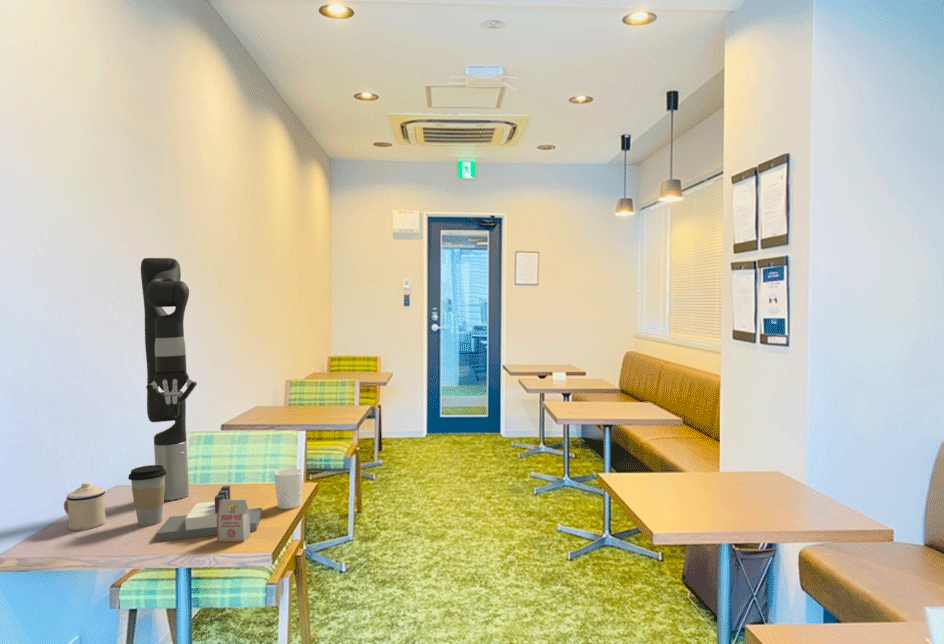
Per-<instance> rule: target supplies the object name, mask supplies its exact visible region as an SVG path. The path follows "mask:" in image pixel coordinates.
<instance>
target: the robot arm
mask: <svg viewBox="0 0 944 644" xmlns="http://www.w3.org/2000/svg"><path fill="white" fill-rule="evenodd" d="M181 275H182V274H181V266H180V263H179V261H178V260H177V259H176V258H170V257H159V258H158V257H146V258H143V259H141V262H140V277H141V280H140V281H141V288H142V296H143V297H142V298H143V307H144V308H143V309H144V342H145V343H144V344H145V345H144V346H145V356H146V357H145V358H146V373H147V375H146V377H147V379H146V383H147V384H146V387H145V388H146V391H147V392H146V413H147V418H148V421H149V422H151V423H161V422H173V421H174V423H173V424H172V426H169V428H167V429H165V430H162V431H160V432H157V433H156V434H155V435H154V437H153V447H154V448H153V449H154V465H161V466H163V468H164V469H165V470H166V473H167V474H166V475H165V481H164V483H165V491H164V500H165V501H164V502H166V500H170V501H176V500H175V499H177V500H179V499H180V498H181V499H184V498H186V497H188V496H189V495H190V488H189V487H190V486H189V467H188V464H189V462H188V448H187V447H188V445H187V443H188V442H187V427H186V426H187V425H186V423H187V422H186V417H187V416H186V415H187V414H186V413H187V411H186V407H187V403H186V400H187V398H188V397H189V396H190V394H191V393H192V392H193V391H194V389H195V388H196V386H197V385H198V383H197V381H194V380H192V379H191V378H190V376H189V374H188V372H187V355H186V352H187V351H186V341H185V333H184V320H185V319H184V317H185V312H186V307H187V304H188V301H189V297H190V289H189V286H188V284H187V283H185V282H184V281H182V280H181ZM170 307H171V308H172V307H174V308H175V309H174V311H173V312H171V313H169V314H168V313H167V312H166V310H164V308H170ZM185 384H186V385H185ZM184 386H185V387H186V389H185V390H184V391H182V389H183V387H184ZM159 388H160V389H161V391H159Z"/></svg>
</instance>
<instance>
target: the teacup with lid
mask: <svg viewBox="0 0 944 644" xmlns="http://www.w3.org/2000/svg"><path fill="white" fill-rule="evenodd" d="M105 493H106V491H105V489H104V488H102V487H96V486H94V485H91V483H90V482H83V483H81V486H80V487H78V488H77V489H75V490H73V491H71V492H69V493H67V495H66V499H65V500H64V502H63V509H64V512H65V514H66V515H68V528H69V529H70V530H72V531H84V530H85V531H86V530H89V529H93V528H98V527H100V526H102V525H103V524H105V523H106V522H107V521H106V518H107V517H106V504H105V502H106V501H105V498H106V497H105Z"/></svg>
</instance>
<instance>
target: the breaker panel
mask: <svg viewBox="0 0 944 644" xmlns="http://www.w3.org/2000/svg"><path fill="white" fill-rule="evenodd" d="M221 490H228V500H232V498H231V497H232V496H231V485H224V486H221V487H220V491H221ZM219 500H225V496H224V495H218V494H216V495H215V497H214V501H207V502H198V503H195V505H194V506H193V508H192V509H191V510H190V512H189V513H188V514H187V515H186V514H185V515H176V516H169V517H168V518H167V519H166V521H164V523H163V524H162V525H161V527H159V529H158V530H157V531H156V533H155V539H156V542H160V541H159V540H163V541H170V539H172V540H180V539H179V538H182V539H191V538H200V537H209V536H216V535H217V513H218V507H219ZM248 510H249V515H250V532H256V531H257V529H258V527H259V524H260V522H261V519H262V517H263V507H258V508H257V507H256V508H248Z"/></svg>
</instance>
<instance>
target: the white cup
mask: <svg viewBox="0 0 944 644" xmlns="http://www.w3.org/2000/svg"><path fill="white" fill-rule="evenodd" d="M273 478H274V485H275V486H274V487H275V494H276V495H275V496H276V500H277V508H278V509H281V510H290V509H291V510H292V509H297V508H299V507H300V506H301V505H302V503H303V502H302V496H303V469H301V468H284V469H279V470H277V471H275V472H274V477H273Z"/></svg>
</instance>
